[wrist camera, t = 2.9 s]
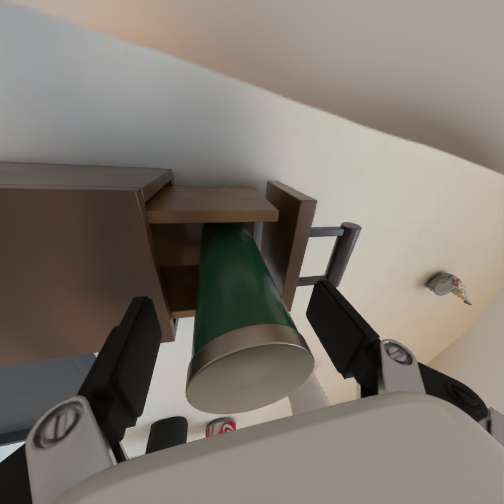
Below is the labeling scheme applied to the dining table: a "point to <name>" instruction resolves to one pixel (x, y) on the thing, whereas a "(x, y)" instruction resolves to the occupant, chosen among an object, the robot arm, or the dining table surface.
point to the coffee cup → (308, 397)
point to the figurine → (447, 286)
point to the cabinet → (75, 257)
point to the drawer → (249, 211)
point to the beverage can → (220, 427)
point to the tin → (241, 329)
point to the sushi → (167, 434)
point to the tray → (37, 391)
